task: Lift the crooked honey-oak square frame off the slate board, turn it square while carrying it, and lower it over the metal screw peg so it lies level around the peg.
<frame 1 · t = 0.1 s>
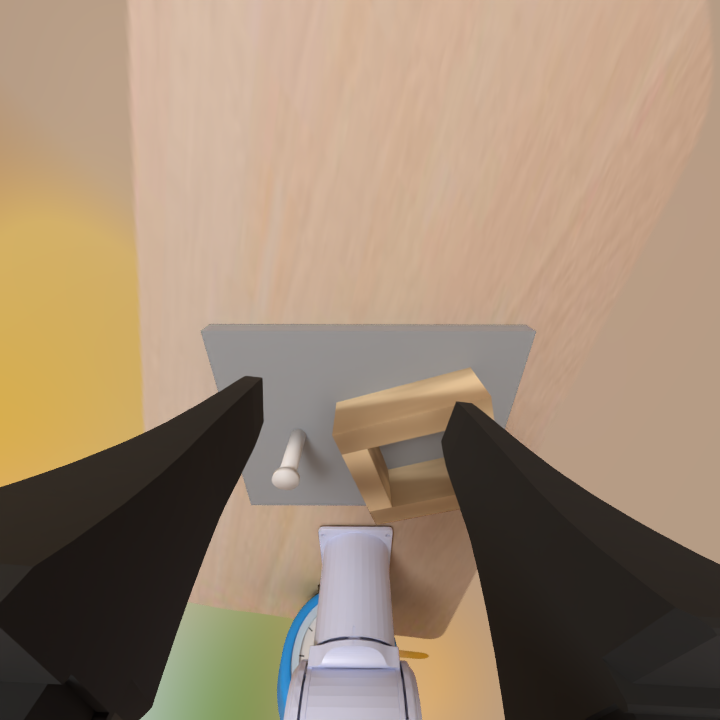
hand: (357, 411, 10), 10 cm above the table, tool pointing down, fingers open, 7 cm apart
slate board: (366, 424, 23), on the table
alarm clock: (341, 593, 38), on the table
oak frame: (415, 435, 22), point 1 cm above the table, touching slate board
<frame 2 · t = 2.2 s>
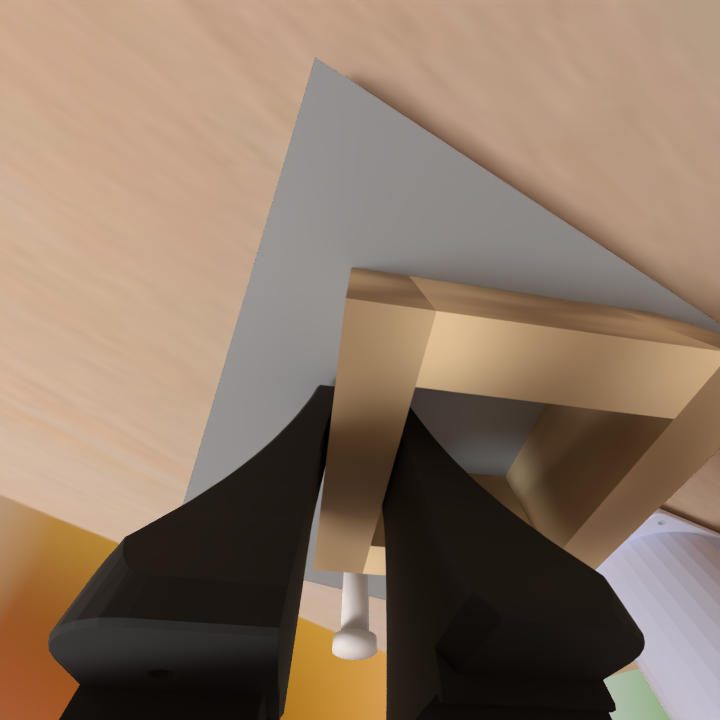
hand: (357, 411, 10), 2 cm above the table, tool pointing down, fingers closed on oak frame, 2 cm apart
slate board: (404, 456, 14), on the table
oak frame: (459, 414, 11), point 1 cm above the table, touching gripper, slate board
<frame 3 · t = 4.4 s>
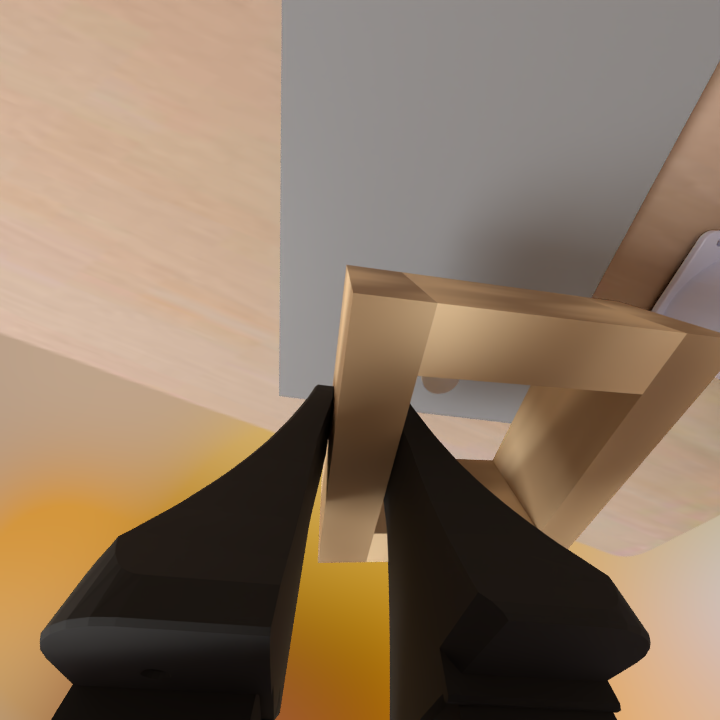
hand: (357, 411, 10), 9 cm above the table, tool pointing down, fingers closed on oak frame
slate board: (442, 247, 16), on the table
oak frame: (450, 403, 12), point 8 cm above the table, touching gripper
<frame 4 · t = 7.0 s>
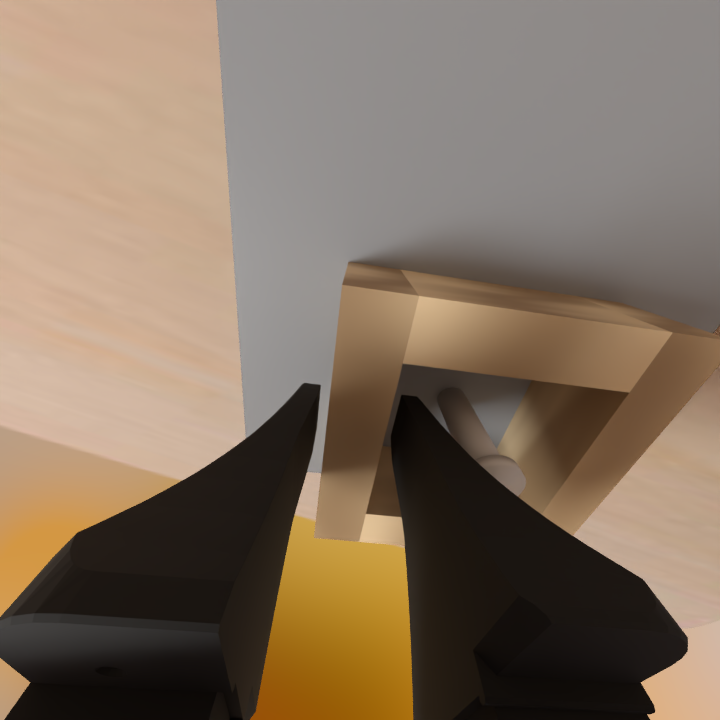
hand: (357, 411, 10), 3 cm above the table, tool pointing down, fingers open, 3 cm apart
slate board: (484, 264, 11), on the table
oak frame: (448, 398, 12), point 1 cm above the table, touching slate board
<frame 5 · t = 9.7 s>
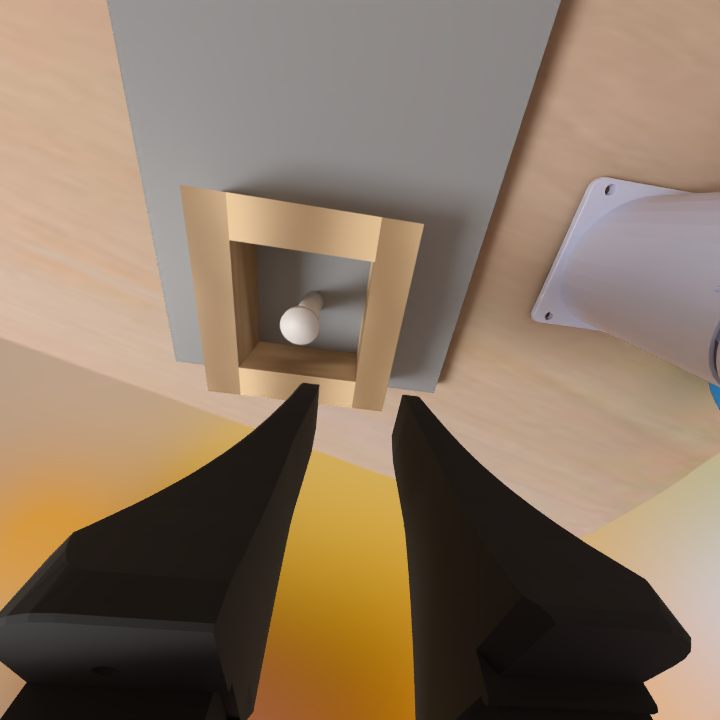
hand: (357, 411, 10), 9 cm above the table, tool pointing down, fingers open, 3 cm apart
slate board: (323, 198, 15), on the table
oak frame: (311, 300, 17), point 1 cm above the table, touching slate board
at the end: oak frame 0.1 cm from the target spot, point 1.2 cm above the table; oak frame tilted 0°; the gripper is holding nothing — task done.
